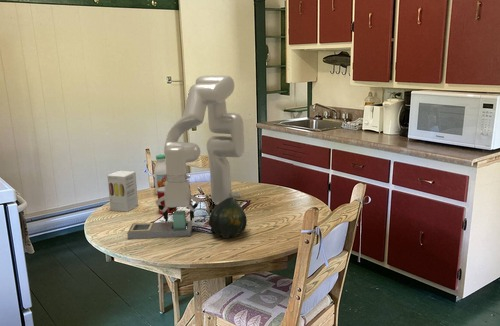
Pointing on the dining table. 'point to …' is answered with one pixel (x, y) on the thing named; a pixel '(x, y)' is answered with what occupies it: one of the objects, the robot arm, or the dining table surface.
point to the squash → (228, 218)
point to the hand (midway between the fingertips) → (179, 220)
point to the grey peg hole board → (158, 230)
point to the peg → (179, 220)
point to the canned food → (160, 194)
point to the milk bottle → (160, 172)
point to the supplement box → (122, 191)
